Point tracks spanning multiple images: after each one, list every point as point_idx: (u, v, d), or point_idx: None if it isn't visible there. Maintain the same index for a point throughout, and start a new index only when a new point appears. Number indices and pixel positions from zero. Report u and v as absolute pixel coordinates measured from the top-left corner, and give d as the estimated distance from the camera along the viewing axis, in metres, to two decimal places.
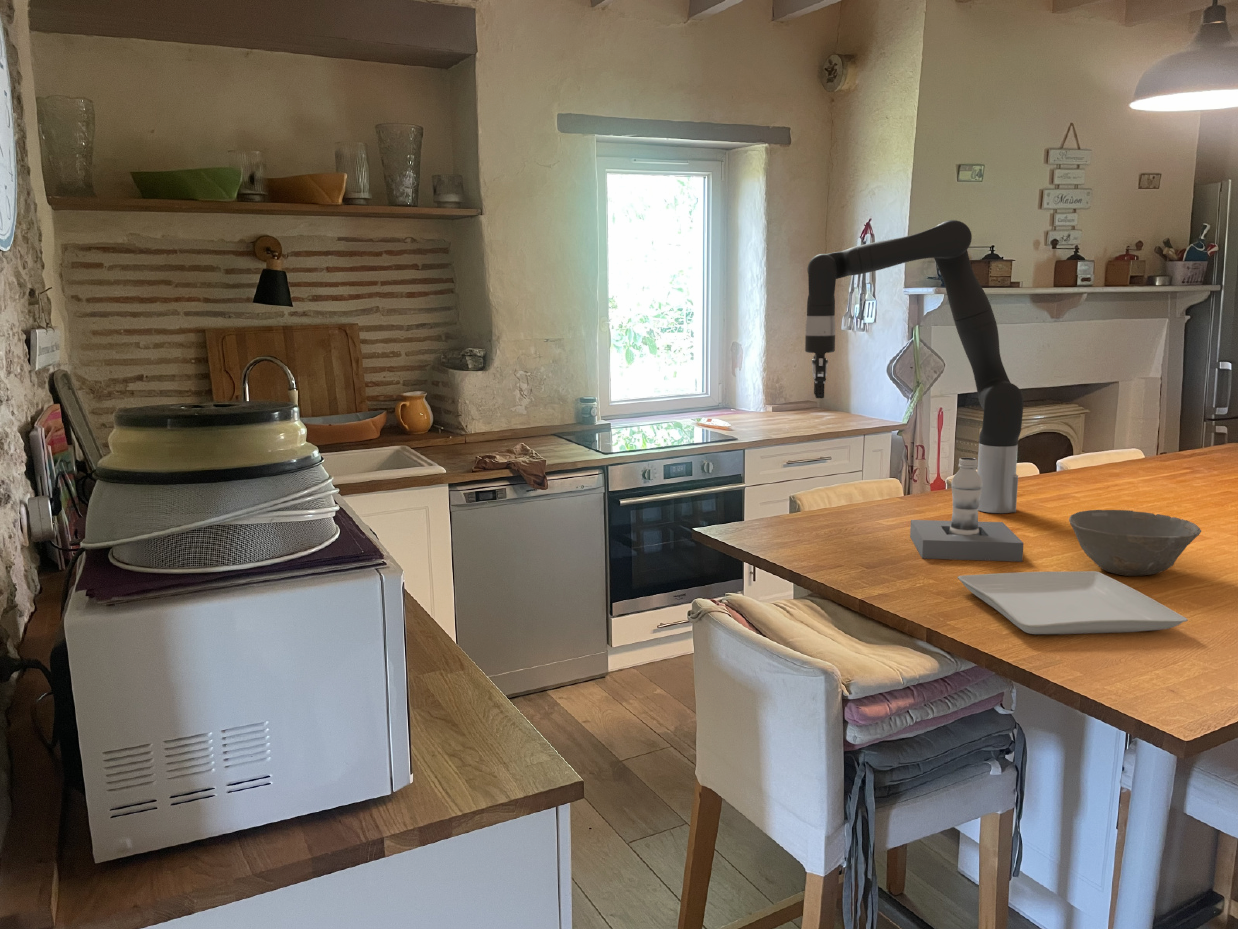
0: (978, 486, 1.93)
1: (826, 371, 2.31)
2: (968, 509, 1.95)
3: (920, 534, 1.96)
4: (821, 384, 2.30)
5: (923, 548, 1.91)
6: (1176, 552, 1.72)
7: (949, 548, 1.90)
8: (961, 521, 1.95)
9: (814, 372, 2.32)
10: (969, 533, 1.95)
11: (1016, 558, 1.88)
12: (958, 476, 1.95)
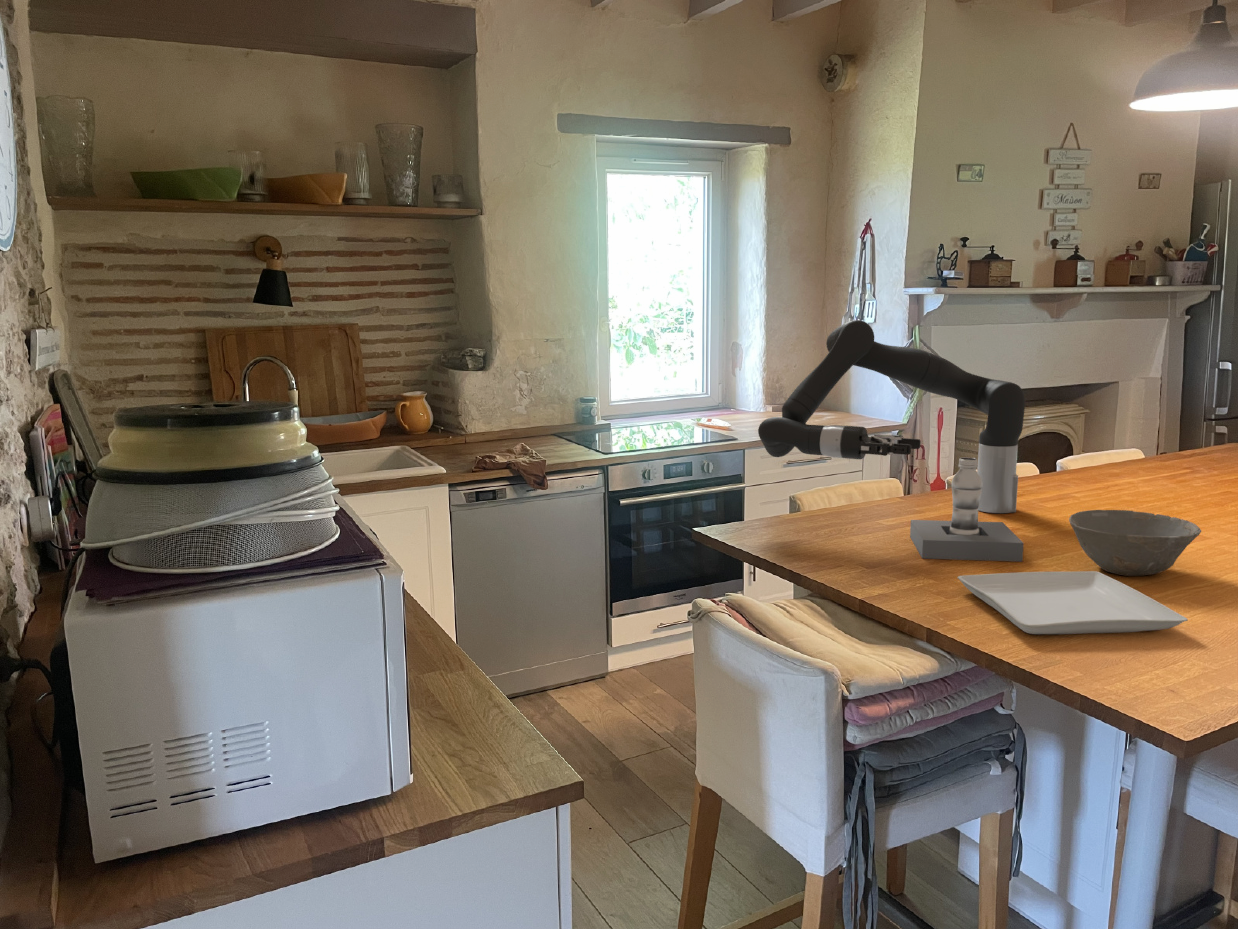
0: (978, 486, 1.93)
1: (880, 440, 2.01)
2: (968, 509, 1.95)
3: (920, 534, 1.96)
4: (892, 447, 1.98)
5: (923, 548, 1.91)
6: (1176, 552, 1.72)
7: (949, 548, 1.90)
8: (961, 521, 1.95)
9: None
10: (969, 533, 1.95)
11: (1016, 558, 1.88)
12: (958, 476, 1.95)
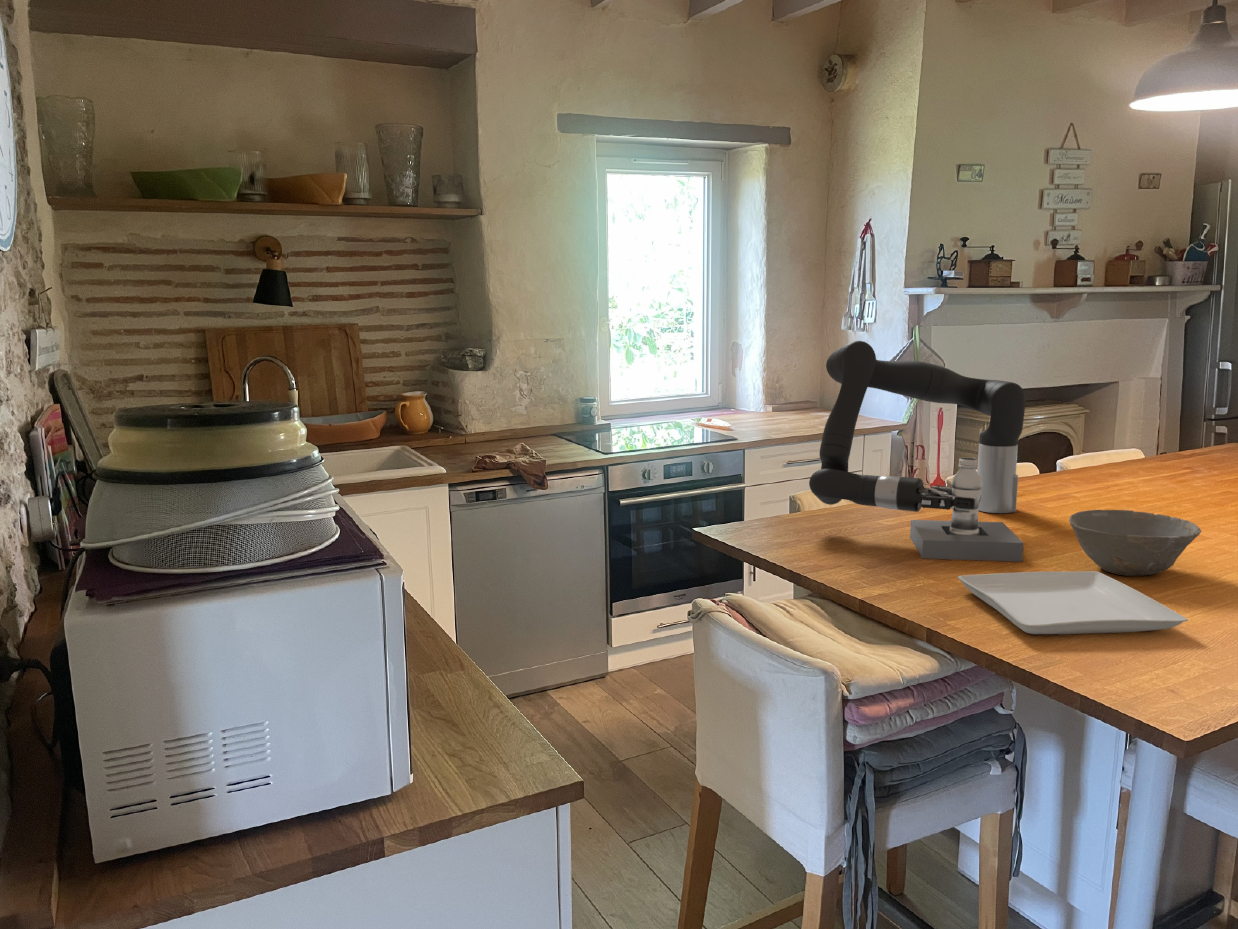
0: (978, 486, 1.93)
1: (941, 493, 1.96)
2: (968, 509, 1.95)
3: (920, 534, 1.96)
4: (956, 501, 1.94)
5: (923, 548, 1.91)
6: (1176, 552, 1.72)
7: (949, 548, 1.90)
8: (961, 521, 1.95)
9: None
10: (969, 533, 1.95)
11: (1016, 558, 1.88)
12: (958, 476, 1.95)
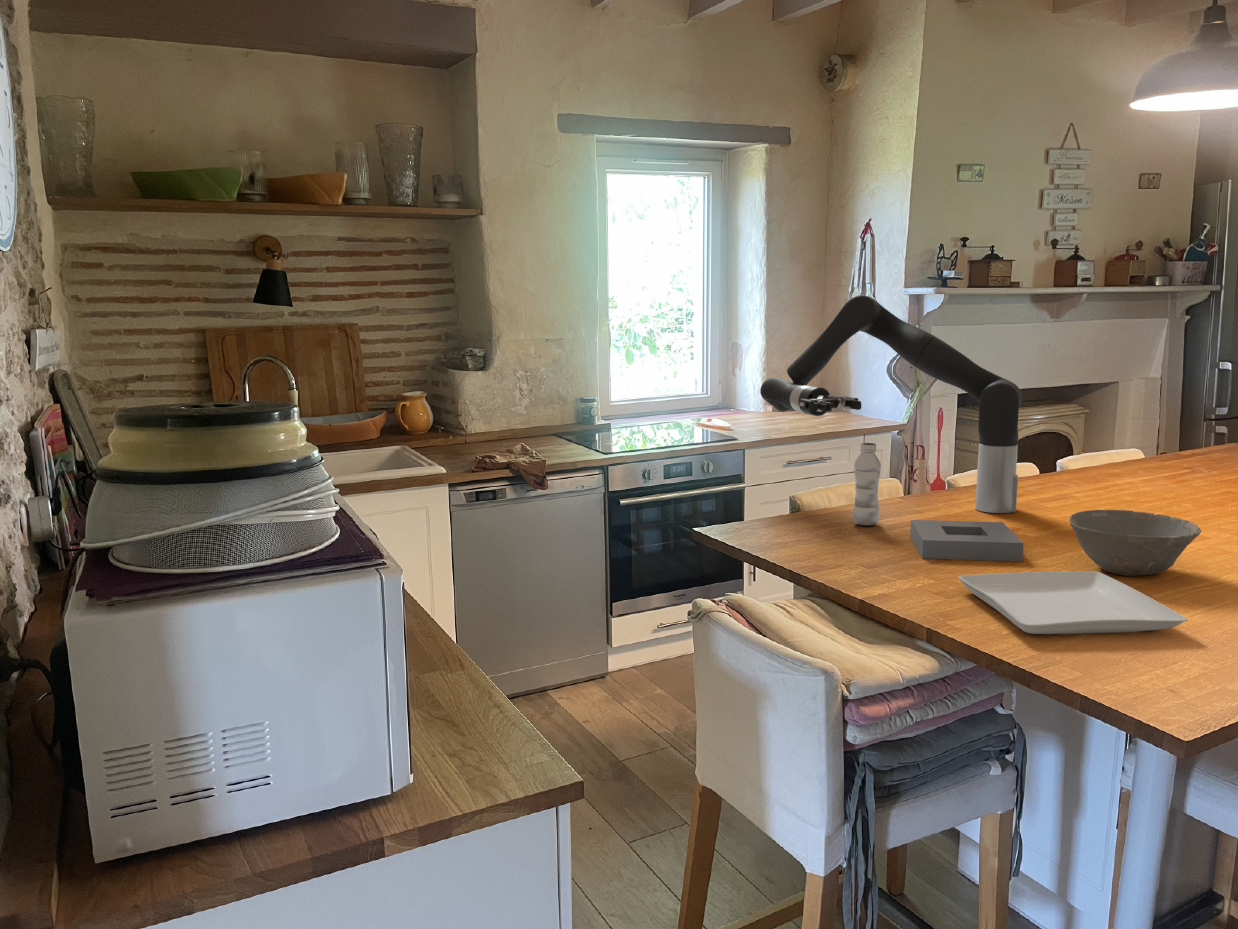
0: (867, 468, 2.15)
1: (817, 398, 2.29)
2: (861, 488, 2.17)
3: (920, 534, 1.96)
4: (818, 404, 2.26)
5: (923, 548, 1.91)
6: (1176, 552, 1.72)
7: (949, 548, 1.90)
8: (856, 499, 2.19)
9: None
10: (860, 510, 2.17)
11: (1016, 558, 1.88)
12: (857, 458, 2.18)
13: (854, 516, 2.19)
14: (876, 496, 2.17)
